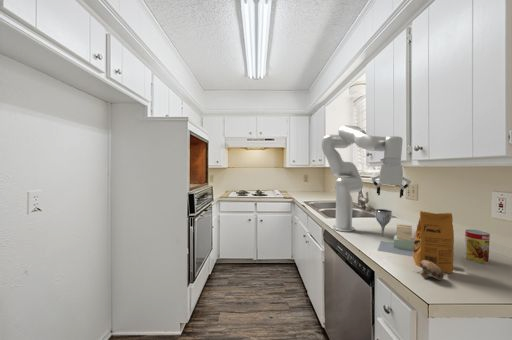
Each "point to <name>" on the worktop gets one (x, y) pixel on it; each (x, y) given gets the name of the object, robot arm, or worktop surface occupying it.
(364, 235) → the worktop surface
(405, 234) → the maple cube
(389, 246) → the building board
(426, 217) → the coffee package
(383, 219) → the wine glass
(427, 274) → the mushroom
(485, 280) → the worktop surface
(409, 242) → the sage slab
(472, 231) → the canned food
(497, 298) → the worktop surface
